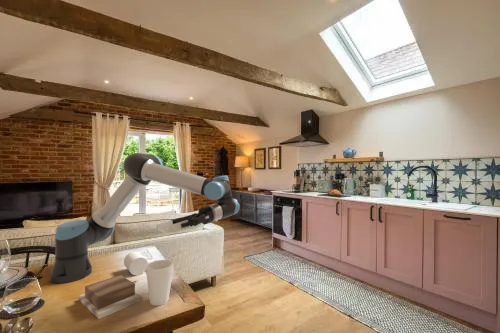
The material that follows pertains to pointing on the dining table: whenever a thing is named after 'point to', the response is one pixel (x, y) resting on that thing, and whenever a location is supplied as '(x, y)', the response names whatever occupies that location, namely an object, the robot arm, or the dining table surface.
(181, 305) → the dining table surface
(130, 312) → the dining table surface
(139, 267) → the mug
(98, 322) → the dining table surface
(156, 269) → the foam cup
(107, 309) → the build base
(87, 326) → the dining table surface
